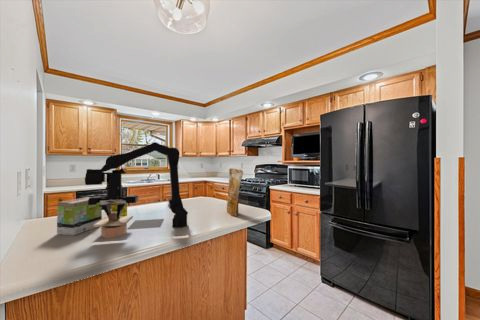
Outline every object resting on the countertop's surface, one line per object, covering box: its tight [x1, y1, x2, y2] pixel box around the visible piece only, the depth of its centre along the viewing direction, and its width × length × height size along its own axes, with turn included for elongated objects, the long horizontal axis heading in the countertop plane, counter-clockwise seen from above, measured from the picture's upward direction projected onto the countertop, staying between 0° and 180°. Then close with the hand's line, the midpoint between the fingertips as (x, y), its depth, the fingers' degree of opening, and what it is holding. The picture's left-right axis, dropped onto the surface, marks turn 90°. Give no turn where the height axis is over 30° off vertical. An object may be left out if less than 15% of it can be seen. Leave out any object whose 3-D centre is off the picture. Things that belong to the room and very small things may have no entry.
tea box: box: [56, 196, 103, 236], centre depth 104 cm, size 15×10×15 cm, turn 168°
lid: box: [93, 212, 134, 228], centre depth 95 cm, size 12×12×4 cm
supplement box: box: [111, 202, 128, 217], centre depth 119 cm, size 6×6×11 cm
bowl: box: [100, 223, 128, 239], centre depth 95 cm, size 9×9×5 cm
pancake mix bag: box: [226, 168, 244, 217], centre depth 135 cm, size 7×19×28 cm, turn 20°
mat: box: [127, 218, 165, 230], centre depth 110 cm, size 15×15×1 cm
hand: (114, 219), depth 95 cm, fingers closed on lid, 3 cm apart
